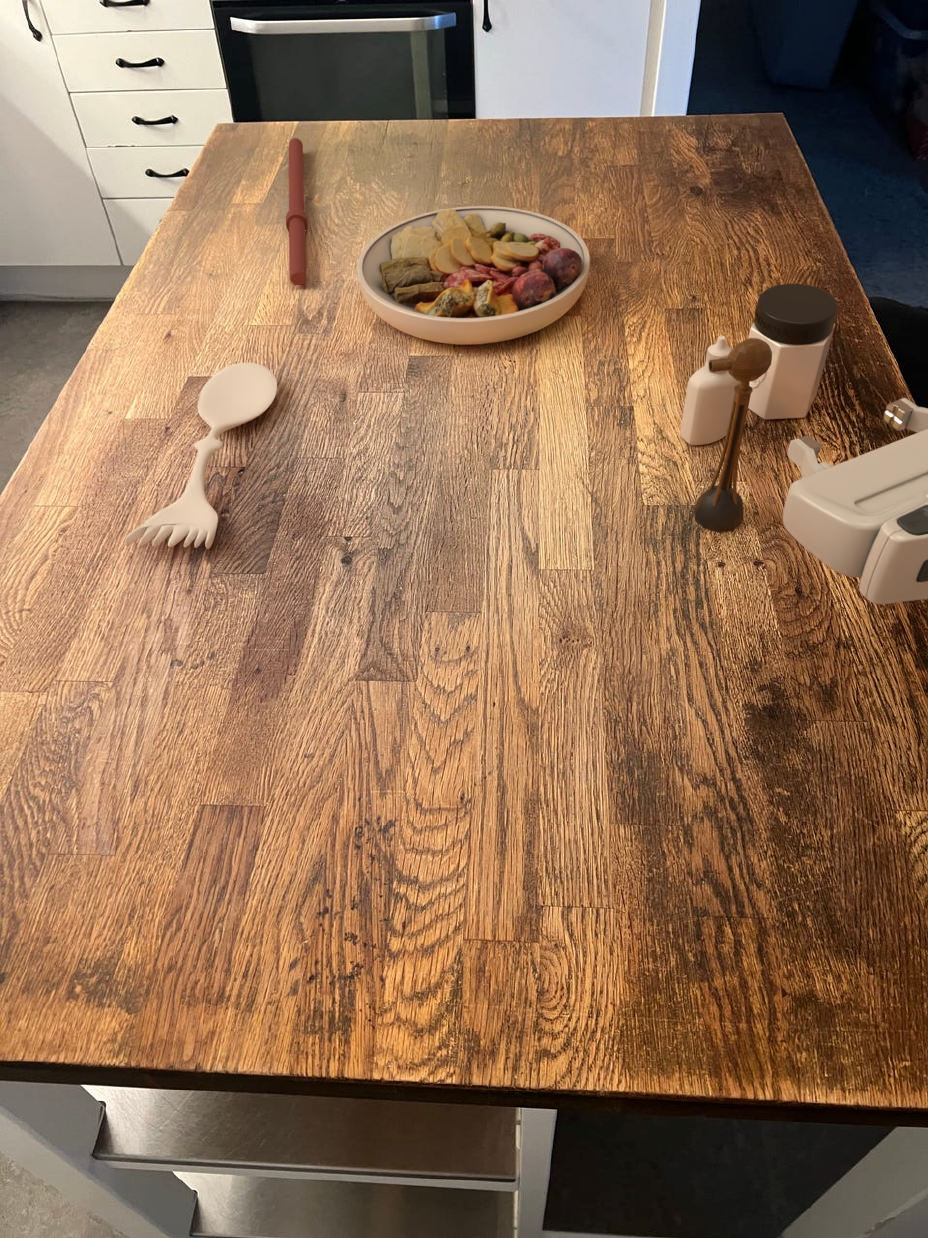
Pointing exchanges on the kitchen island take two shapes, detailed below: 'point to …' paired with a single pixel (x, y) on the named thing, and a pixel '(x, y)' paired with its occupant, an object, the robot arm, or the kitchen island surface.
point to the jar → (791, 348)
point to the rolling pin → (296, 214)
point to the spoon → (210, 453)
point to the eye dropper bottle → (708, 400)
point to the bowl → (473, 274)
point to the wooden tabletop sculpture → (732, 436)
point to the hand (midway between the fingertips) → (844, 425)
